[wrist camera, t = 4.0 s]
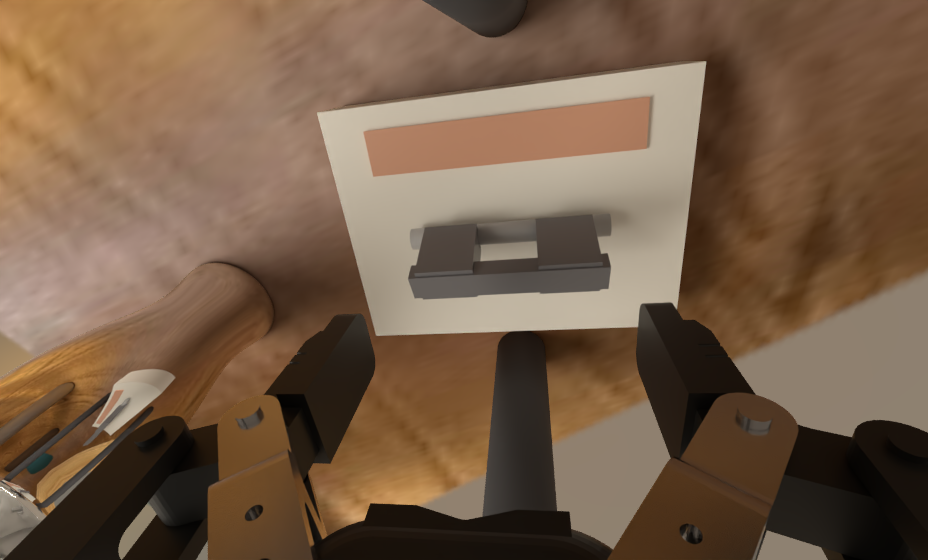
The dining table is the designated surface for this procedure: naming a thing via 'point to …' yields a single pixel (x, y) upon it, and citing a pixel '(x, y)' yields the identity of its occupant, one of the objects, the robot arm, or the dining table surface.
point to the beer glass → (117, 387)
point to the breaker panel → (522, 189)
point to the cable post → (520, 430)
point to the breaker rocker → (554, 271)
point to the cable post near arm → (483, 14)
